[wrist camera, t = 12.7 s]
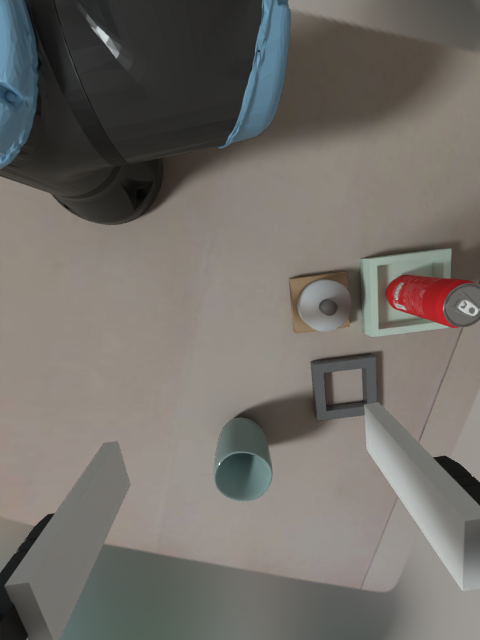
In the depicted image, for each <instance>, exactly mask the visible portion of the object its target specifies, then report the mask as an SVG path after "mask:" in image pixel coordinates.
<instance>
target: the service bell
mask: <svg viewBox="0 0 480 640" xmlns="http://www.w3.org/2000/svg"><path fill="white" fill-rule="evenodd" d="M289 285H290V296H291V308H292V319H293V330H294V332H295V333H304V332H312V331H331V330H334V329H337V328H343V327H350V323H349V315H350V313H351V309H352V299H351V296H350V293H349V292H348V276H347V272H336V273H328V274H320V275H312V276H305V277H297V278H289Z"/></svg>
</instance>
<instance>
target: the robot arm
mask: <svg viewBox="0 0 480 640" xmlns="http://www.w3.org/2000/svg"><path fill="white" fill-rule="evenodd" d="M290 20H291V15H290V9H289V7H288V0H0V176H1V177H4V178H7V179H10V180H13V181H16V182H19V183H22V184H25V185H28V186H30V187H33V188H36V189H39V190H42V191H45V192H48V193H50V194H52V196H53V197H54V198H55V199H56V200H57V201H58V202H59V203H60V204H61V205H62V206H63V207H64V208H66V209H67V210H68V211H70V212H71V213H73V214H74V215H76V216H78V217H80V218H82V219H85V220H88V221H91V222H95V223H99V224H105V225H117V224H123V223H126V222H129V221H132V220H134V219H136V218H137V217H139V216H140V215H142V214H143V213H144V212H145V211H146V210H147V209H148V208H149V207H150V206H151V204H152V203H153V202H154V200H155V198H156V196H157V194H158V192H159V189H160V185H161V181H162V172H163V167H162V158H163V157H168V156H173V155H178V154H182V153H187V152H192V151H197V150H202V149H207V148H211V147H217V148H225V147H226V146H229V145H230V144H231V143H234V142H238V141H242V140H246V139H249V138H253V137H256V136H258V135H260V134H261V133H262V132H263V131H264V130H265V129H266V128H267V127H268V126H269V125H270V123H271V122H272V120H273V118H274V116H275V113H276V111H277V108H278V105H279V101H280V98H281V94H282V89H283V84H284V78H285V72H286V65H287V57H288V47H289V37H290ZM364 411H365V427H366V443H367V451H368V452H369V454H370V455H371V457H372V458H373V459H374V461H375V462H376V464H377V465H378V467H379V468H380V470H381V471H382V473H383V474H384V476H385V477H386V479H387V480H388V482H389V483H390V485H391V486H392V488H393V489H394V490H395V492H396V493H397V495H398V496H399V498H400V499H401V501H402V502H403V504H404V505H405V507H406V508H407V510H408V511H409V513H410V514H411V516H412V517H413V519H414V520H415V521H416V523H417V524H418V526H419V527H420V529H421V530H422V532H423V533H424V535H425V536H426V538H427V539H428V541H429V542H430V544H431V545H432V547H433V548H434V550H435V551H436V552H437V554H438V555H439V557H440V558H441V560H442V561H443V563H444V564H445V566H446V567H447V569H448V570H449V572H450V573H451V574H452V576H453V578H454V579H455V581H456V582H457V583H458V585H459V586H460V588H461V589H462V591H467V590H475V589H480V482H479V481H478V480H476V478H474V477H472V476H471V474H470V473H469V472H468V471H467V470H466V469H465V468H464V467H462V466H461V465H460V464H459V463H457V462H455V461H454V460H452V459H450V458H448V457H447V456H440V457H432V456H431V455H430V454H429V453H428V452H427V451H426V450H425V449H424V448H423V447H422V446H421V445H420V444H419V443H418V442H417V441H416V440H415V439H414V438H413V437H412V436H411V435H410V434H409V433H408V432H407V431H406V430H405V429H404V428H403V427H402V426H401V425H400V424H399V423H398V421H397V420H396V419H395V418H394V417H393V416H392V415H391V414H390V413H389V412H388V411H387V410H386V409H385V408H384V407H383V406H382V405H381V404H380V403H379V402H377V403H370V404H364ZM129 486H130V481H129V478H128V474H127V471H126V468H125V464H124V461H123V457H122V454H121V450H120V447H119V443H118V441H116V442H109V443H104V444H103V445H102V447H101V448H100V449H99V451H98V452H97V454H96V455H95V457H94V458H93V459H92V461H91V462H90V464H89V465H88V467H87V468H86V469H85V471H84V472H83V474H82V475H81V477H80V478H79V480H78V481H77V482H76V484H75V485H74V487H73V488H72V490H71V491H70V492H69V494H68V495H67V497H66V498H65V500H64V501H63V502H62V504H61V505H60V507H59V508H58V510H57V511H56V512H55V513H54V514H48V515H47V516H46V517H44V518H43V519H42V520H41V521H40V522H39V523H38V524H37V525H36V526H35V527H34V528H33V530H32V531H31V532H30V533H29V535H28V537H27V538H26V539H25V542H23V543H22V544H21V546H20V547H19V548H18V550H17V553H16V554H14V555H13V556H12V558H11V559H10V561H9V562H8V563H7V565H6V566H5V568H4V569H3V570H2V571H1V573H0V640H26V639H27V637H28V639H29V640H60V637H61V635H62V633H63V631H64V629H65V627H66V624H67V622H68V620H69V618H70V616H71V613H72V611H73V609H74V607H75V605H76V602H77V600H78V598H79V596H80V594H81V591H82V589H83V587H84V585H85V583H86V581H87V578H88V576H89V574H90V572H91V569H92V567H93V565H94V563H95V561H96V559H97V556H98V554H99V552H100V550H101V548H102V546H103V543H104V541H105V539H106V537H107V535H108V532H109V530H110V528H111V526H112V524H113V521H114V519H115V517H116V515H117V513H118V511H119V508H120V506H121V504H122V502H123V500H124V497H125V495H126V493H127V491H128V489H129Z"/></svg>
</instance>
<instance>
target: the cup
mask: <svg viewBox="0 0 480 640" xmlns="http://www.w3.org/2000/svg"><path fill="white" fill-rule="evenodd" d="M271 480H272V463H271V457H270V452H269V447H268V443H267V439H266V436H265V434H264V432H263V430H262V429H261V427H260V426H259V425H258V424H257V423H256V422H254V421H252V420H250V419H248V418H243V417H239V418H234V419H232V420H230V421H229V422H228V423H227V424H226V425H225V426H224V427H223V429H222V431H221V433H220V436H219V439H218V442H217V447H216V454H215V462H214V483H215V486H216V487H217V489H218V490H219V491H220V492H221V493H222V494H223V495H225V496H226V497H228V498H230V499H233V500H237V501H251V500H254V499H257V498H259V497H260V496H261V495H263V494H264V492H265V491H266V490H267V489H268V487H269V485H270V483H271Z"/></svg>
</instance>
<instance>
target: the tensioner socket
mask: <svg viewBox="0 0 480 640" xmlns="http://www.w3.org/2000/svg"><path fill="white" fill-rule="evenodd" d="M359 368H362V380H363V402H355V403H346V404H338V405H330V406H326V400H325V385H324V373H327V372H335V371H343V370H351V369H359ZM311 372H312V385H313V399H314V412H315V417H316V419H317V421H320V420H329V419H337V418H345V417H353V416H361V415H365V411H364V404H370V403H377V384H376V357H375V356H374V355H372V354H366V355H358V356H350V357H342V358H334V359H326V360H317V361H311Z"/></svg>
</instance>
